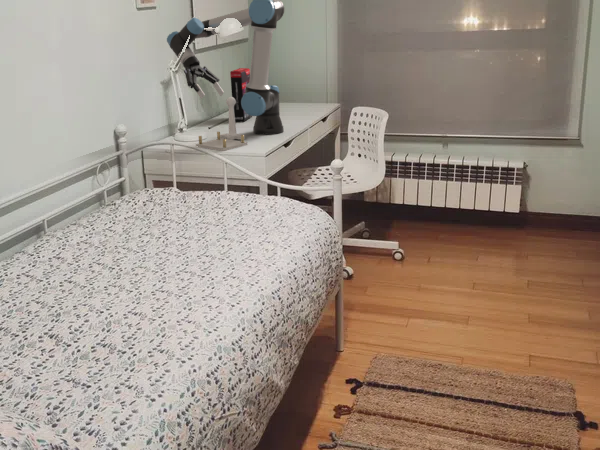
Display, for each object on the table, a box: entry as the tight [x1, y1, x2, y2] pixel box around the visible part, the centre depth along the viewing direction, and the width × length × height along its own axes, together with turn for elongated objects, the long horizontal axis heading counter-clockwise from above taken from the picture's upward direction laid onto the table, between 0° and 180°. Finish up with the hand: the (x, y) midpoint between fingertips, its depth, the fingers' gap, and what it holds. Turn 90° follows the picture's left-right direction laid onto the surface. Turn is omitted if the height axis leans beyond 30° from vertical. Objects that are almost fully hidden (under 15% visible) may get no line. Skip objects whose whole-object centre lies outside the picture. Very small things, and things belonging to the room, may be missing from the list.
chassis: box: [195, 131, 249, 152], centre depth 315 cm, size 16×17×5 cm
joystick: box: [220, 96, 245, 141], centre depth 326 cm, size 11×8×20 cm
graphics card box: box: [229, 67, 253, 123], centre depth 379 cm, size 17×7×27 cm, turn 168°
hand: (212, 95), depth 328 cm, fingers open, 13 cm apart
